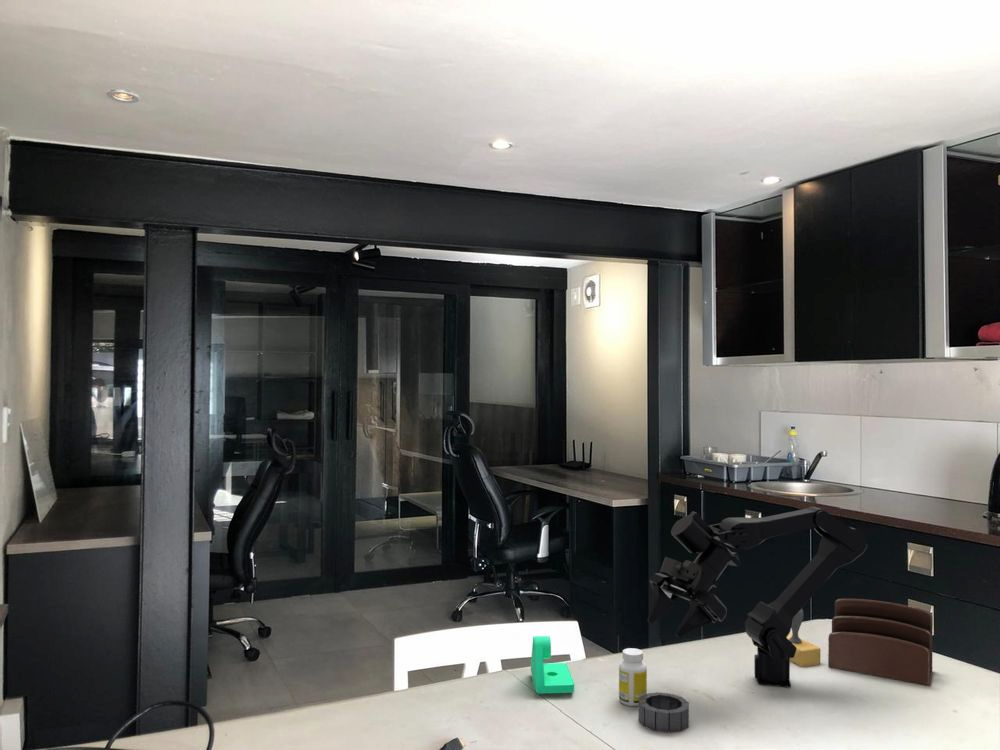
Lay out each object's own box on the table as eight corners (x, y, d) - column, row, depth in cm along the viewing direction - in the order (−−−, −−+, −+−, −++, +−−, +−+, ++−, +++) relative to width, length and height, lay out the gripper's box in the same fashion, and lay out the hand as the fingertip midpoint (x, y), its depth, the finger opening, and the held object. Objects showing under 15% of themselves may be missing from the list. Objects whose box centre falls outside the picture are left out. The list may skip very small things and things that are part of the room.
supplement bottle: (648, 698, 155) (648, 648, 155) (644, 708, 150) (644, 657, 150) (621, 694, 157) (621, 645, 157) (616, 704, 151) (616, 654, 151)
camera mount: (575, 698, 155) (575, 646, 155) (536, 699, 154) (537, 647, 155) (566, 675, 167) (566, 627, 167) (530, 675, 166) (531, 627, 166)
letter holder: (834, 654, 180) (835, 593, 180) (932, 671, 170) (932, 607, 170) (827, 668, 172) (828, 604, 172) (930, 687, 161) (930, 619, 161)
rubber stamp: (770, 652, 181) (770, 600, 181) (791, 649, 183) (791, 598, 183) (800, 667, 172) (800, 612, 172) (821, 664, 174) (821, 610, 174)
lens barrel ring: (689, 714, 147) (689, 695, 147) (688, 735, 139) (688, 715, 139) (641, 708, 150) (641, 690, 150) (636, 728, 141) (637, 709, 141)
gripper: (657, 534, 167) (613, 592, 162) (715, 552, 150) (668, 617, 145) (686, 568, 170) (644, 625, 166) (746, 589, 153) (701, 653, 149)
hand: (662, 629), depth 156 cm, fingers open, 9 cm apart
